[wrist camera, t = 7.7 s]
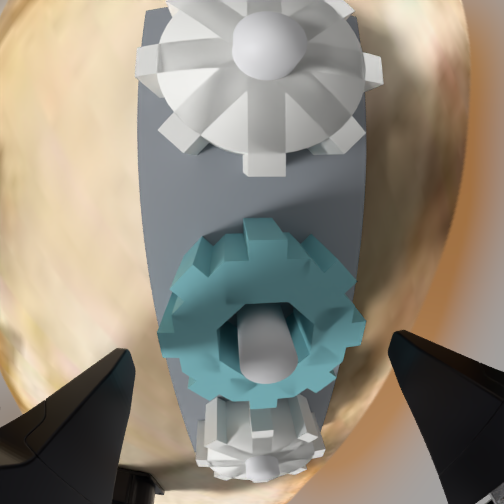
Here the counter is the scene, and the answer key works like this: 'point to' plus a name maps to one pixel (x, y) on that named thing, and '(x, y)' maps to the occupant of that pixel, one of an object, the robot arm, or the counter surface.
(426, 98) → the counter surface
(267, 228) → the teal gear
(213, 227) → the gear board
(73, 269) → the counter surface
